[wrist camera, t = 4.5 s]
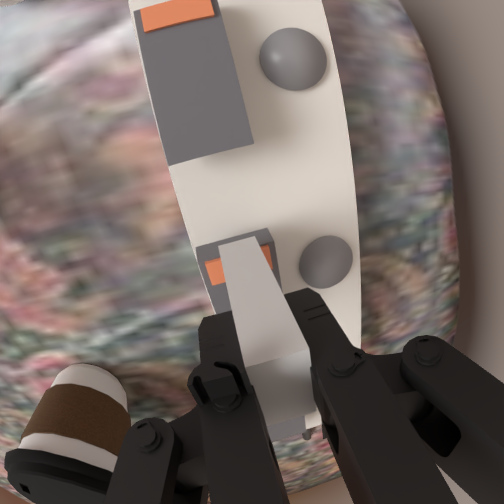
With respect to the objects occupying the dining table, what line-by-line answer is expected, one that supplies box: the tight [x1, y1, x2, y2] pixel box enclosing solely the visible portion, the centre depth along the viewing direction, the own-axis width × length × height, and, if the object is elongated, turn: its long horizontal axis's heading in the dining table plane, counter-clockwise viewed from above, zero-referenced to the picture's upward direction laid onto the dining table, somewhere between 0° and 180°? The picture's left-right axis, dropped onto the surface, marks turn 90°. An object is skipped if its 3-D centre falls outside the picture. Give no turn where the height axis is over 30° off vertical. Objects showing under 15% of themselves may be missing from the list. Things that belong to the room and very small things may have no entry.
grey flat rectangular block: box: [133, 0, 254, 166], centre depth 11 cm, size 7×3×1 cm, turn 12°
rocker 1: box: [196, 228, 283, 314], centre depth 16 cm, size 7×3×1 cm, turn 11°
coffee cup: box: [4, 363, 131, 504], centre depth 19 cm, size 11×11×12 cm
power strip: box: [128, 0, 361, 440], centre depth 21 cm, size 42×9×4 cm, turn 12°
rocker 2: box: [267, 415, 306, 442], centre depth 21 cm, size 7×3×1 cm, turn 11°
